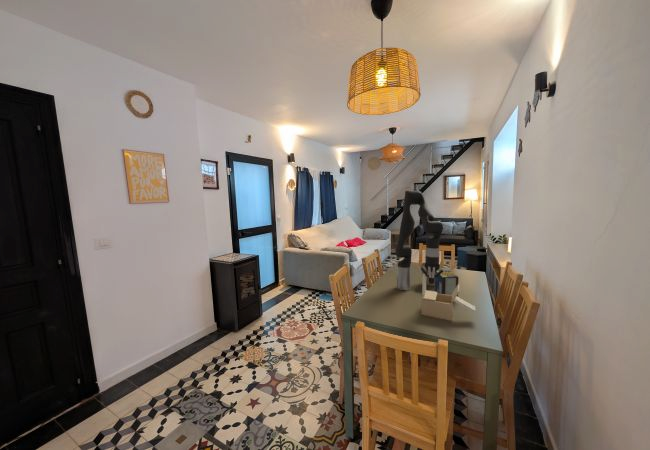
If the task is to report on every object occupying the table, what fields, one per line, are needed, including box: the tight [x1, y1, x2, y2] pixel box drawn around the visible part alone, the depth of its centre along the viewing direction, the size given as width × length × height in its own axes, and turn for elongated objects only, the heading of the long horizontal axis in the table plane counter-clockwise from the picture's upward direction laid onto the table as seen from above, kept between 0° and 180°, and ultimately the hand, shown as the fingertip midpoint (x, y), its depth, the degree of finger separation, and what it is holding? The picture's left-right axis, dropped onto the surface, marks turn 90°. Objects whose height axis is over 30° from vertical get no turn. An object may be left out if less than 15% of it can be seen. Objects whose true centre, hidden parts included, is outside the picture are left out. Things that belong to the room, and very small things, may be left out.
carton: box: [421, 293, 454, 322], centre depth 150 cm, size 16×14×10 cm
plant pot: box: [420, 262, 442, 287], centre depth 198 cm, size 15×15×16 cm
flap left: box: [421, 274, 437, 301], centre depth 150 cm, size 8×14×13 cm, turn 152°
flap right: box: [452, 283, 476, 313], centre depth 142 cm, size 8×14×13 cm
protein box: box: [434, 270, 460, 297], centre depth 177 cm, size 10×15×16 cm
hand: (431, 283), depth 150 cm, fingers closed
